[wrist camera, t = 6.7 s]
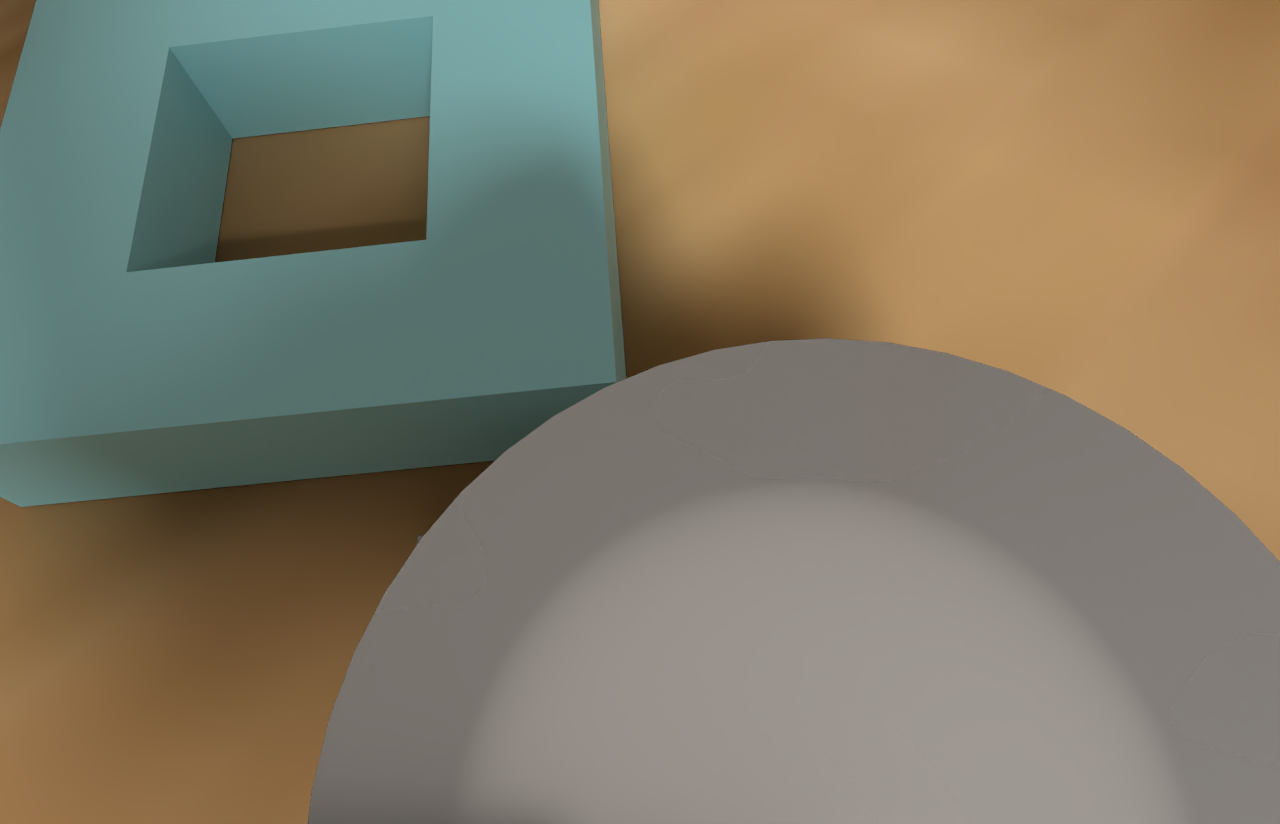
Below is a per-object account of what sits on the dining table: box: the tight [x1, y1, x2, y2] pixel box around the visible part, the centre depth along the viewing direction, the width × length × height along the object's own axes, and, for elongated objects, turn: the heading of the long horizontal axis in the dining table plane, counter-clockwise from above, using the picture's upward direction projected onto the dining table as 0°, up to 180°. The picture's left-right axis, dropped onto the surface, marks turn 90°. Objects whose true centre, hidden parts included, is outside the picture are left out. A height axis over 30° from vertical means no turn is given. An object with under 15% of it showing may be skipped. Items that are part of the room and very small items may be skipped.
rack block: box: [0, 0, 626, 507], centre depth 21 cm, size 13×13×3 cm
